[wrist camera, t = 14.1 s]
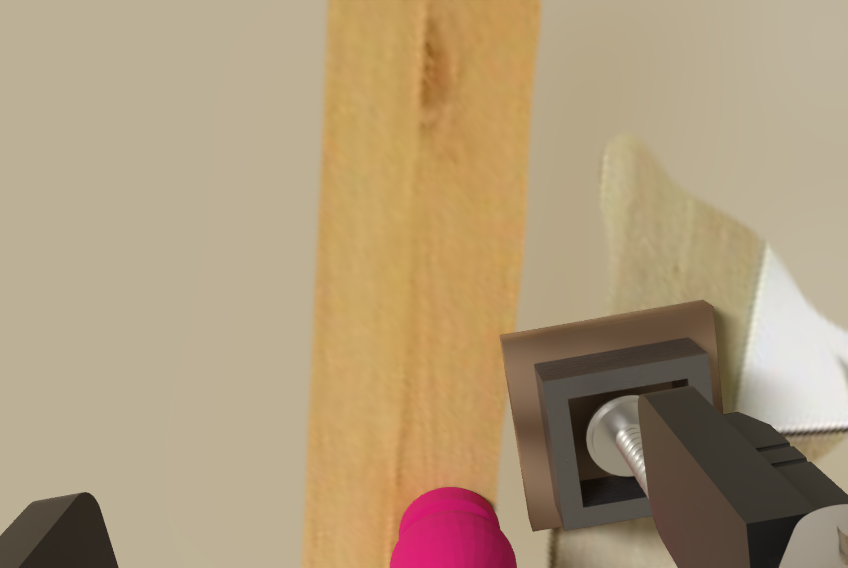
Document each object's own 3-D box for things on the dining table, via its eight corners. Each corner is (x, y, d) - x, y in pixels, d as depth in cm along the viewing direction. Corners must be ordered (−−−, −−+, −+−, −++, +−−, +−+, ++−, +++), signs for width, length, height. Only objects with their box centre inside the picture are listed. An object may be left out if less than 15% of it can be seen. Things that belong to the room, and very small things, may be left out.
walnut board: (499, 335, 46) (502, 343, 44) (703, 299, 45) (713, 306, 44) (528, 518, 48) (532, 531, 47) (721, 485, 48) (731, 498, 46)
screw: (578, 383, 45) (662, 380, 45) (577, 461, 46) (659, 458, 46) (646, 493, 32) (763, 489, 32) (643, 597, 33) (756, 593, 33)
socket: (533, 363, 44) (542, 381, 41) (688, 337, 44) (708, 353, 41) (554, 504, 46) (564, 530, 43) (702, 478, 46) (722, 503, 43)
